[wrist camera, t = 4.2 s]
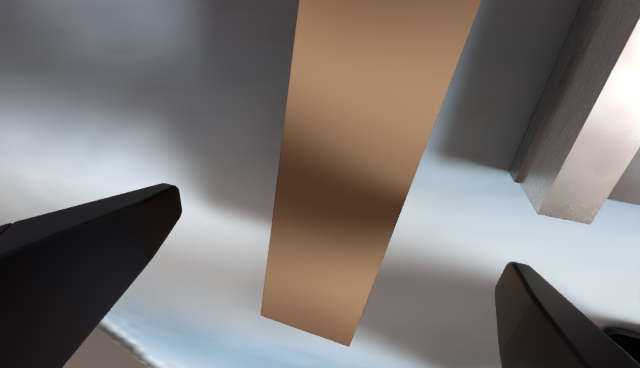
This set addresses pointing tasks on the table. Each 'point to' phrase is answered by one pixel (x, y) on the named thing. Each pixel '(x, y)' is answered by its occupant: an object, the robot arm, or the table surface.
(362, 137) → the tall wooden block
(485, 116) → the table surface
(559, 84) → the door track
